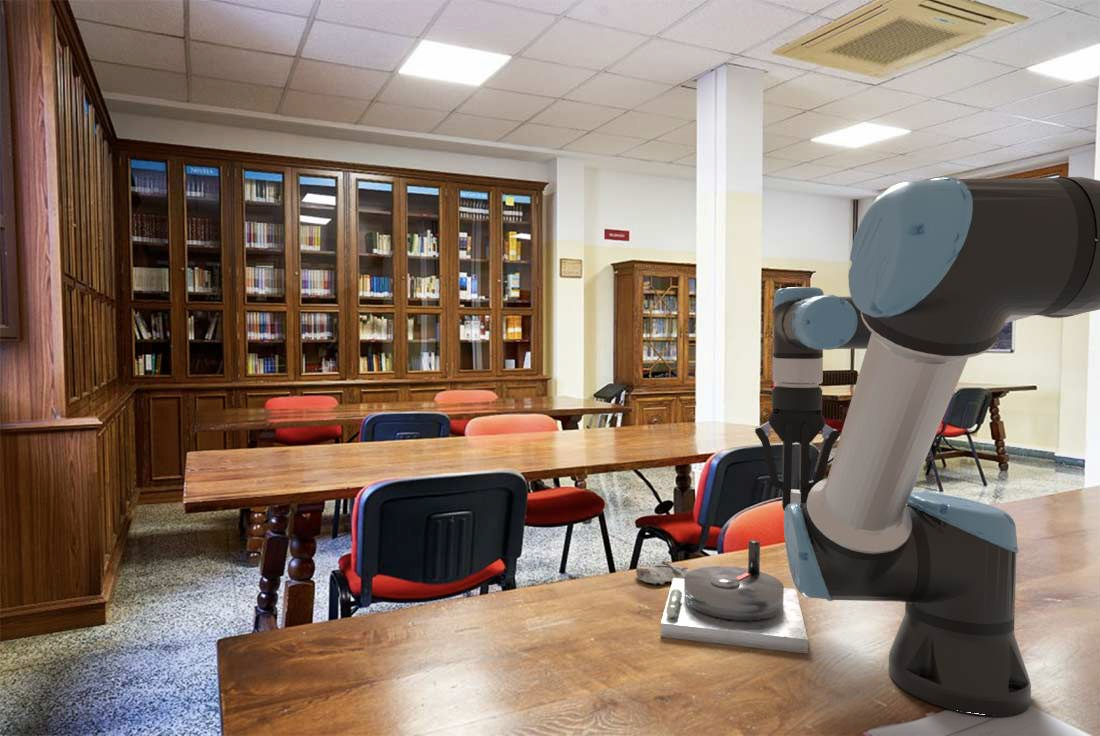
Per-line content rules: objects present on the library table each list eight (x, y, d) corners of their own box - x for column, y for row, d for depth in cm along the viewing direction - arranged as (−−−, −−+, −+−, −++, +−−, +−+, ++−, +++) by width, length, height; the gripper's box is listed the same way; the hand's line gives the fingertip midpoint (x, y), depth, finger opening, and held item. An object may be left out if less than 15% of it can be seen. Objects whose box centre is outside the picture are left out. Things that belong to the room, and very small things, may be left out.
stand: (807, 653, 93) (808, 626, 93) (660, 636, 98) (661, 610, 98) (795, 601, 112) (795, 578, 112) (673, 589, 117) (673, 567, 117)
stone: (672, 570, 128) (672, 556, 128) (697, 582, 121) (697, 567, 121) (629, 578, 124) (629, 563, 124) (653, 591, 117) (653, 575, 117)
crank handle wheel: (786, 625, 97) (787, 569, 96) (680, 613, 101) (680, 560, 100) (780, 588, 111) (781, 540, 111) (687, 580, 115) (687, 533, 115)
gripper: (837, 384, 110) (834, 528, 111) (753, 382, 113) (751, 522, 114) (844, 387, 103) (841, 541, 104) (755, 385, 106) (752, 534, 107)
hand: (794, 531), depth 109 cm, fingers closed
